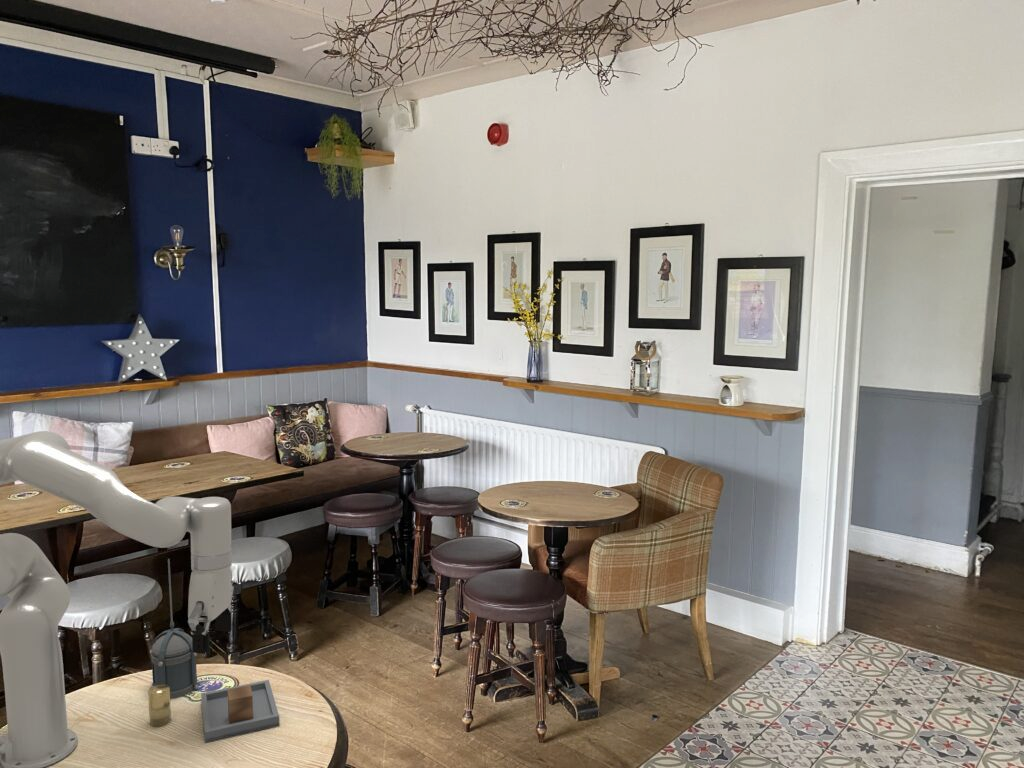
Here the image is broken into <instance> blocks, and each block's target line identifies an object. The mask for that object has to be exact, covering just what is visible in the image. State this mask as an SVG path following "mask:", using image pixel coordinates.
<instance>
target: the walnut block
mask: <svg viewBox="0 0 1024 768" xmlns="http://www.w3.org/2000/svg"><path fill="white" fill-rule="evenodd" d="M227 692H228V716H229V724H233V723H237V722H242V721H246V720H251V719H253V696H252V691H251V685H249V686H243V687H238V688H233V689H228V690H227Z"/></svg>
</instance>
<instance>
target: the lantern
mask: <svg viewBox="0 0 1024 768" xmlns="http://www.w3.org/2000/svg"><path fill="white" fill-rule="evenodd" d="M167 564H168V565H167V568H168V570H167V572H168V574H167V575H168V584H169V585H168V590H169V591H168V592H169V595H168V596H169V608H170V622H169V623H170V624H169V627H170V629H167V630H164V631H162V632H161V633H159V634H158V635H157V636H156V637H155V639H154V640H153V641H152V644H151V649H150V650H149V654H150V657H151V659H150V661H151V671H152V672H151V674H152V675H151V676H152V683H151V687H153V686H156V685H161V684H166V685H168V686H169V688H170V700H173V699H178V698H183V697H185V696H186V695H189V694H191V693H192V692H195V691H197V690H198V689H199V687H200V685H199V684H198V674H197V673H198V672H197V671H198V670H197V656H198V653H193V649H192V636H191V635H189V634H188V633H186V632H185V631H184V629H182V628H181V627H175V623H174V621H173V620H174V619H173V618H174V617H173V601H172V585H171V584H172V582H171V566H170V565H171V562H170V558H168V559H167Z"/></svg>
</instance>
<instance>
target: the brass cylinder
mask: <svg viewBox="0 0 1024 768" xmlns="http://www.w3.org/2000/svg"><path fill="white" fill-rule="evenodd" d="M147 697H148V701H147V702H148V716H149V726H151V727H153V728H159V727H164V726H166V725H168V724H169V723H171V721H172V709H171V708H172V707H171V699H170V688H169V686H168V685H166V684H161V685H156V686H151V687H150V688H149V689H148V690H147Z"/></svg>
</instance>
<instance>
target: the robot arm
mask: <svg viewBox="0 0 1024 768" xmlns="http://www.w3.org/2000/svg"><path fill="white" fill-rule="evenodd" d="M18 481H19V482H21V483H24V484H26V485H28V486H30V487H32V488H36V489H37V490H39V491H42V492H44V493H48V494H50V495H52V496H54V497H57V498H60V499H61V500H64V501H66V502H68V503H70V504H73V505H76V506H78V507H80V508H82V509H84V510H85V511H87V512H88V513H89V514H90V515H92V516H93V517H94V518H96V519H98V520H99V521H100V522H102V523H103V524H104V525H106V526H107V527H109V528H110V529H112V530H114V531H115V532H117V533H119V534H121V535H123V536H126V537H128V538H130V539H133V540H135V541H136V542H140V543H143V544H144V545H148V546H151V547H154V548H161V549H163V548H164V549H165V548H170V547H173V546H175V545H177V544H179V543H180V542H181V541H182V540H183V538H184V537H185V535H186V533H187V532H188V533H189V534H190V560H191V561H190V564H191V565H190V567H191V569H190V570H191V574H190V577H189V578H190V579H189V586H188V600H187V601H188V603H187V604H188V605H187V607H188V608H187V617H188V618H187V619H188V620H187V623H188V626H189V628H188V629H189V631H190V634H191V635H192V636H191V638H192V649H193V653H197V654H206V655H207V654H209V653H210V650H211V649H210V648H211V647H210V646H211V645H210V633H209V632H208V631H209V628H210V624H211V622H212V621H214V620H215V621H214V623H215V631H216V632H223V633H230V632H231V631H232V630H233V629H232V627H233V626H232V612H233V606H232V603H233V601H234V600H233V599H234V597H233V596H234V595H233V594H234V589H235V587H234V585H233V582H232V571H231V570H232V569H231V567H232V566H233V565H232V504H231V502H230V501H229V499H227V498H225V497H221V496H206V497H202V498H197V497H196V498H195V497H194V498H193V497H183V496H166V497H163V498H161V499H159V500H157V501H156V502H155V503H154V502H151V501H150V500H147V499H145V498H143V497H142V496H140V495H138V494H136V493H134V492H133V491H131V489H129V488H128V487H126V486H125V485H124V484H123V483H122V482H121V480H120V478H119V477H118V476H117V474H116V473H115V471H114V470H113V469H111V468H110V467H108V466H107V465H104V464H102V463H101V462H98V461H96V460H93V459H91V458H88V457H86V456H84V455H81V454H80V453H77V452H74V451H72V449H70V445H69V443H68V441H67V440H66V439H65V438H64V437H63V436H61V434H58V433H57V432H53V431H48V430H44V431H43V430H42V431H41V430H40V431H39V430H38V431H36V432H31V433H27V434H23V435H18V436H15V437H11V438H6V439H5V438H4V439H2V440H0V486H2V485H5V484H10V483H13V482H18ZM6 596H7V597H8V598H9V599H10V600H8V602H7V603H6V604H5V606H4V607H3V609H2V610H1V612H0V658H1V665H2V673H3V675H2V676H3V683H4V684H3V685H4V696H5V709H6V720H7V721H6V722H7V733H6V734H2V736H1V737H0V766H1V767H2V768H46V767H48V766H51V765H53V764H55V763H58V762H60V761H62V760H63V759H64V758H66V757H67V756H69V755H70V754H71V753H73V751H74V750H75V749H76V747H77V746H78V741H79V740H78V739H79V737H78V734H77V732H75V731H74V730H72V729H69V728H68V719H67V716H68V715H67V704H66V701H67V700H66V689H65V687H66V686H65V675H64V663H63V662H64V661H63V659H64V658H63V652H62V646H61V641H60V638H59V631H58V630H59V624H60V622H61V621H62V618H63V617H64V616H65V614H66V612H67V611H68V608H69V606H70V602H71V592H70V590H69V587H68V585H67V584H66V582H65V580H64V579H63V578H62V576H61V575H60V574H59V572H58V571H57V570H56V568H55V567H54V566H53V564H52V563H51V561H50V560H49V559H48V556H46V554H45V553H44V552H43V550H42V548H40V547H39V545H38V544H37V543H36V542H35V541H33V540H32V539H31V538H29V537H27V536H26V535H23V534H20V533H15V532H7V533H2V534H1V533H0V599H1V598H4V597H6ZM202 616H204V617H202ZM199 623H203V626H202V625H201V624H199Z"/></svg>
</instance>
